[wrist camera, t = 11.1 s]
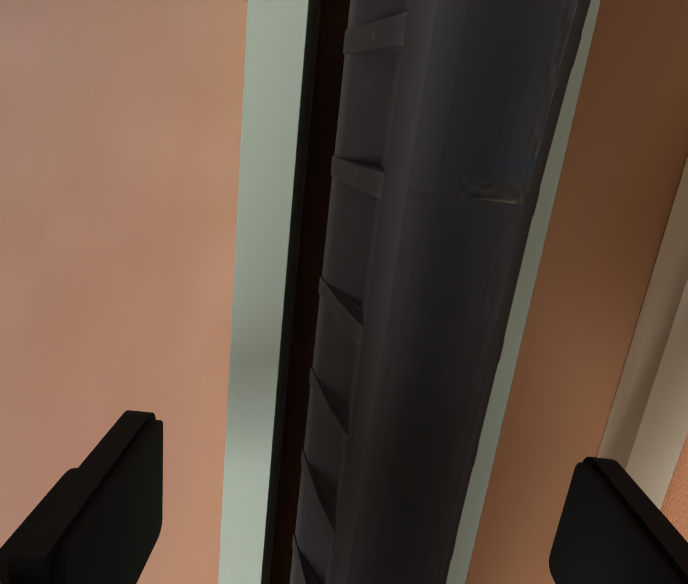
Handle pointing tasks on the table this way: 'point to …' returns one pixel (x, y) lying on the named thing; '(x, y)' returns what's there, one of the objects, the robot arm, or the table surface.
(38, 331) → the table surface
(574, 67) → the display holder
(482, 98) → the magazine
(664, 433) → the rack
